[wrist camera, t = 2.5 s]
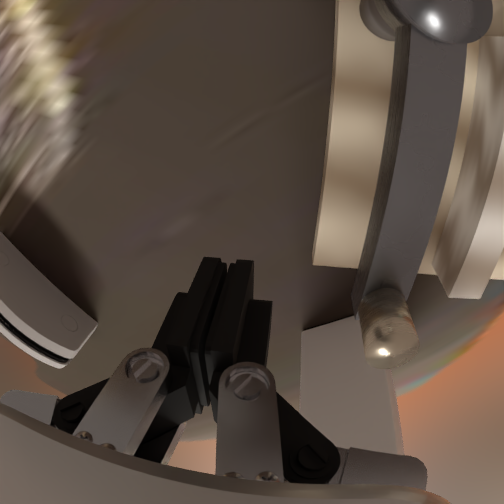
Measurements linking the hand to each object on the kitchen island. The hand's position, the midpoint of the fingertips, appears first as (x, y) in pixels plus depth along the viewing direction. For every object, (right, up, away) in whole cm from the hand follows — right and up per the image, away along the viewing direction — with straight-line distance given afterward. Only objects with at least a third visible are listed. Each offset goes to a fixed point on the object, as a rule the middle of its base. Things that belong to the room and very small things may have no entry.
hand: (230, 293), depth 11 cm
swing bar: (+8, +7, +2) cm, 10 cm away
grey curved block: (-23, -2, +20) cm, 31 cm away
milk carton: (+10, -7, +19) cm, 23 cm away
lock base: (+16, +10, +6) cm, 20 cm away
